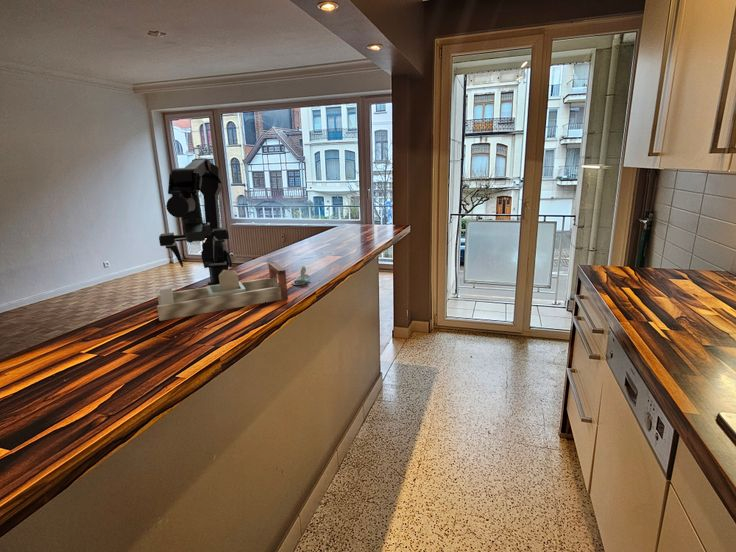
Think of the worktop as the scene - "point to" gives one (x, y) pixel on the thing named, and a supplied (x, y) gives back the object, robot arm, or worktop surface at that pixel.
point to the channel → (226, 296)
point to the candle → (228, 280)
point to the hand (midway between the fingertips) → (199, 264)
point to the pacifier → (302, 277)
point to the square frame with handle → (211, 291)
